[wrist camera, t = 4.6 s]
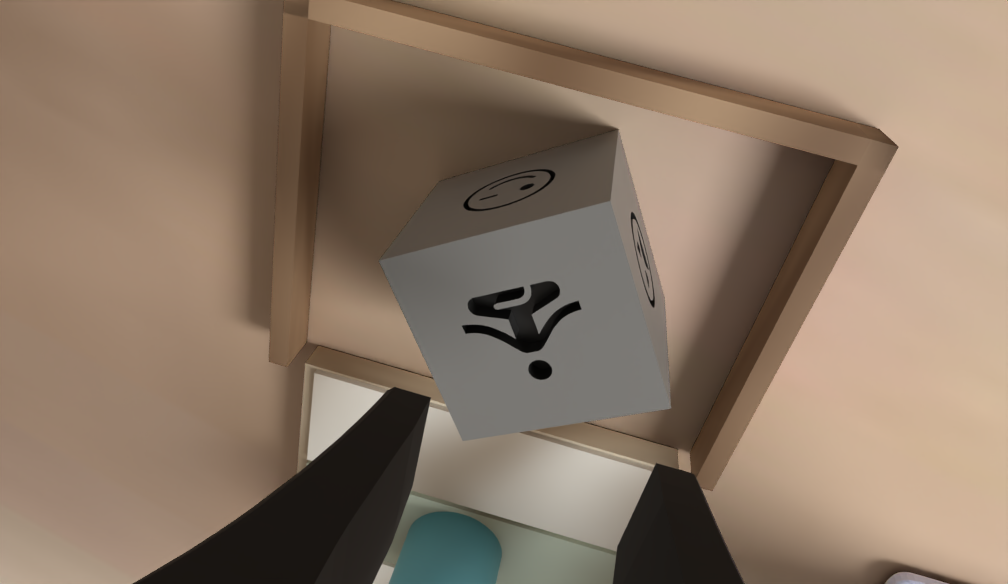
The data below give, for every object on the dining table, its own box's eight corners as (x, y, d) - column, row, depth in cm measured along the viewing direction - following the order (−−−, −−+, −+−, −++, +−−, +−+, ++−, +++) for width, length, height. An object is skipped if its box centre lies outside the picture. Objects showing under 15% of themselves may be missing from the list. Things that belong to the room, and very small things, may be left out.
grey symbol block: (618, 128, 17) (610, 200, 13) (664, 296, 19) (670, 408, 15) (439, 180, 18) (378, 261, 14) (500, 331, 21) (462, 441, 16)
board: (879, 128, 16) (898, 146, 15) (552, 759, 32) (548, 793, 30) (310, -22, 16) (284, -16, 15) (269, 671, 32) (254, 700, 31)
